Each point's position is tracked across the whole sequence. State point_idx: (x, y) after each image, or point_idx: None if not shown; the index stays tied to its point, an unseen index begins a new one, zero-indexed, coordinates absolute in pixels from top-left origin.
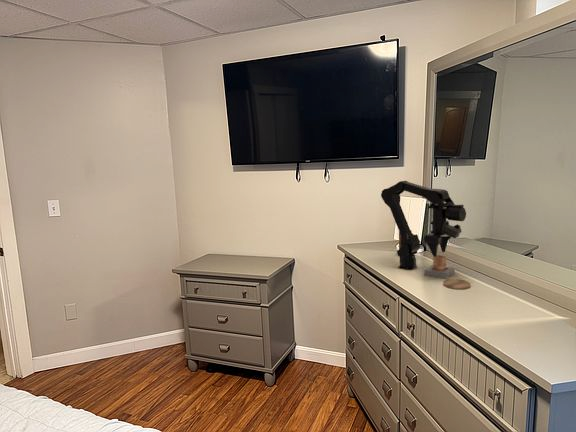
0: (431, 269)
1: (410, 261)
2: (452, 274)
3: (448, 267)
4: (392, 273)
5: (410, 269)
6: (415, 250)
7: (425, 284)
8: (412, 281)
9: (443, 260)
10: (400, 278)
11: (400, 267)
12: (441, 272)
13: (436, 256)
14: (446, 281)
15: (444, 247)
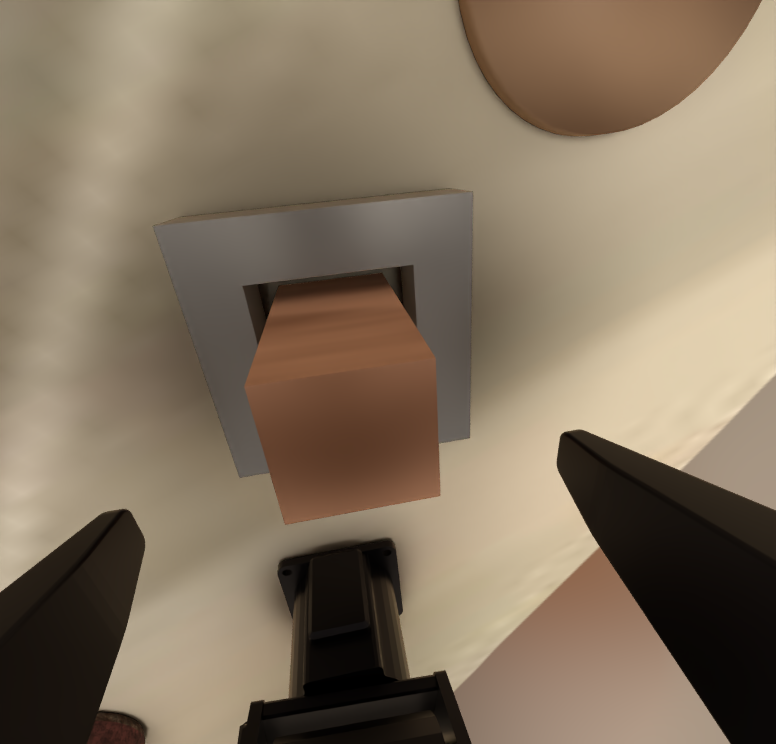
0: None
1: (376, 616)
2: (251, 209)
3: (209, 300)
4: (529, 560)
5: (393, 543)
6: (355, 742)
7: (688, 265)
8: (646, 383)
9: (368, 343)
10: None
11: (401, 600)
12: (466, 258)
13: (372, 484)
14: (625, 92)
15: (61, 618)
